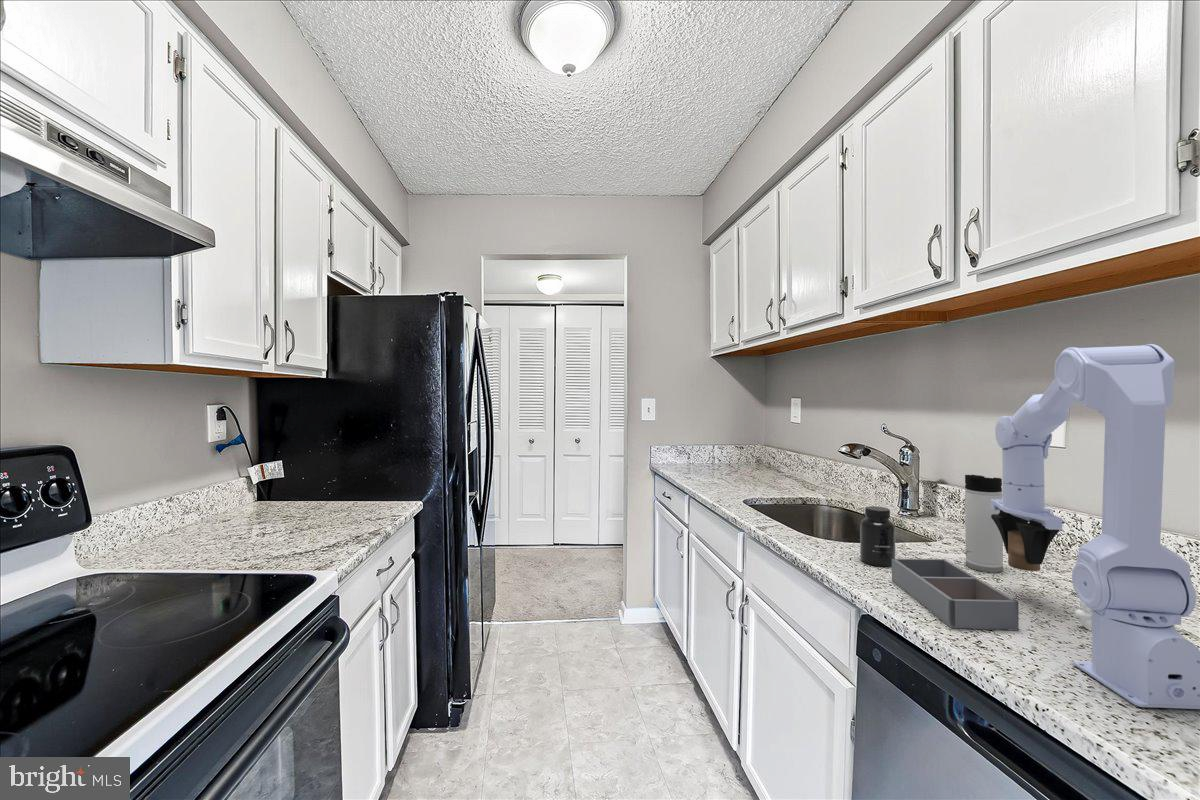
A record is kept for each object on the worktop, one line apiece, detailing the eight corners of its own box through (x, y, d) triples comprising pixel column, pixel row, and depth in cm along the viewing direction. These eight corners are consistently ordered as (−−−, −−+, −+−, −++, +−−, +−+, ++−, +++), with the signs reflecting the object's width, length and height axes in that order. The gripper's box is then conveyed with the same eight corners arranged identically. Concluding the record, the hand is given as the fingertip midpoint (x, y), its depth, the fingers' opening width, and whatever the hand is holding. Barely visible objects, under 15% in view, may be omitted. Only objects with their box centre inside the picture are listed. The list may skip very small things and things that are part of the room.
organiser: (1018, 630, 79) (1018, 601, 79) (951, 628, 80) (950, 600, 80) (945, 581, 99) (944, 559, 98) (891, 580, 100) (891, 558, 100)
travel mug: (959, 566, 106) (957, 473, 106) (974, 560, 110) (973, 470, 109) (993, 575, 101) (992, 477, 100) (1008, 569, 104) (1007, 474, 104)
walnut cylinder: (1046, 571, 87) (1046, 537, 87) (1019, 571, 88) (1019, 537, 87) (1028, 562, 91) (1027, 530, 91) (1002, 562, 92) (1001, 530, 92)
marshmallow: (1116, 629, 78) (1113, 601, 78) (1121, 633, 77) (1118, 605, 77) (1075, 627, 80) (1072, 599, 80) (1080, 631, 79) (1077, 603, 79)
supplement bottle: (881, 569, 106) (880, 513, 106) (853, 559, 112) (852, 507, 112) (902, 564, 109) (902, 509, 108) (874, 555, 115) (873, 503, 115)
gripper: (1082, 491, 82) (1083, 573, 82) (1017, 476, 96) (1018, 546, 96) (1035, 491, 82) (1036, 573, 83) (978, 476, 97) (979, 546, 97)
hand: (1024, 558), depth 89 cm, fingers closed on walnut cylinder, 4 cm apart
